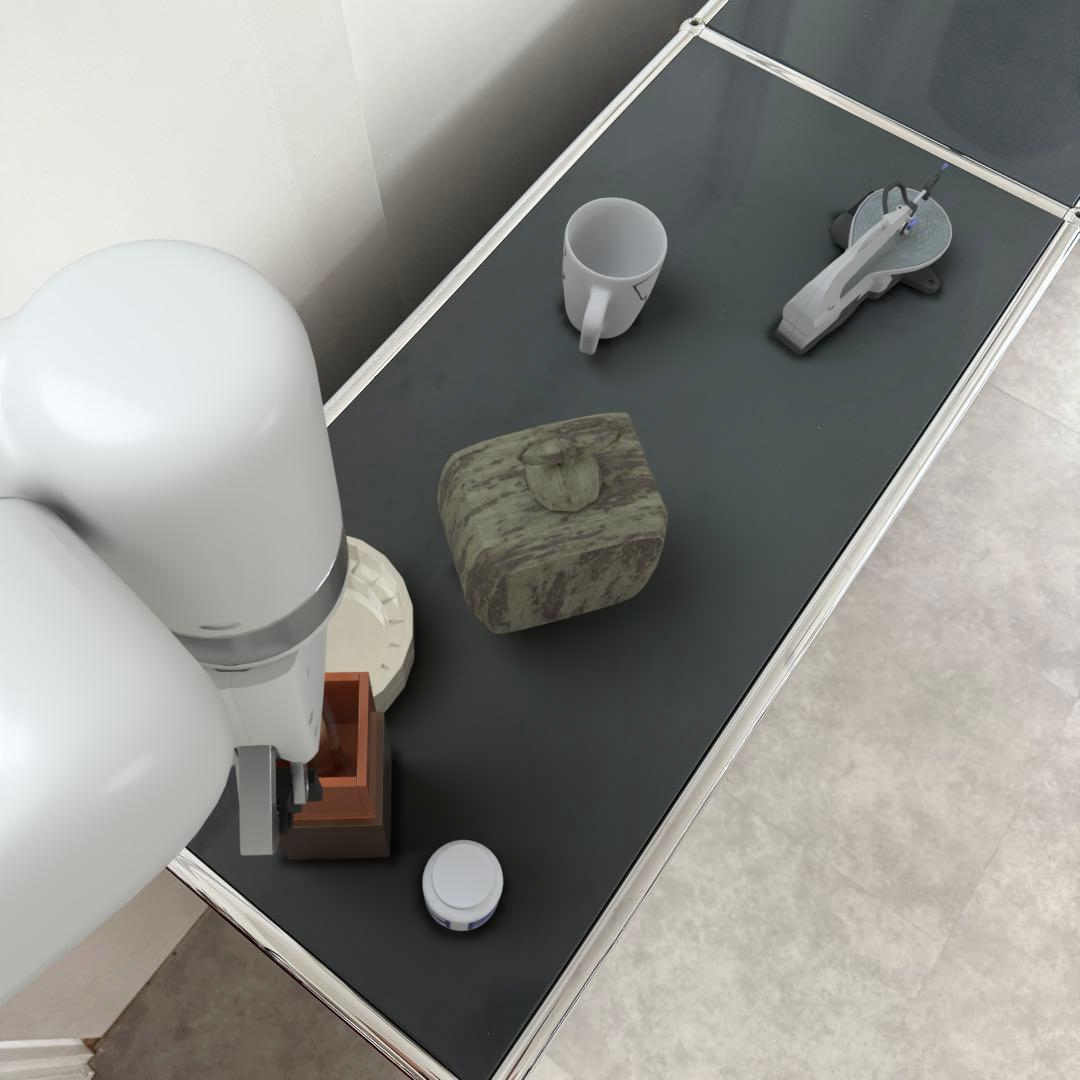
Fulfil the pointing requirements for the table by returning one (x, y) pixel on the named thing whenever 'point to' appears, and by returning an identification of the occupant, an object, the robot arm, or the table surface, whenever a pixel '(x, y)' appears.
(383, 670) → the bowl
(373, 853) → the brown boxy piece
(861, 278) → the jigsaw machine
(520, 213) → the table surface
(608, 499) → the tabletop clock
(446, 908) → the pill bottle
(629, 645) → the table surface
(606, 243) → the mug
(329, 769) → the stirring stick
